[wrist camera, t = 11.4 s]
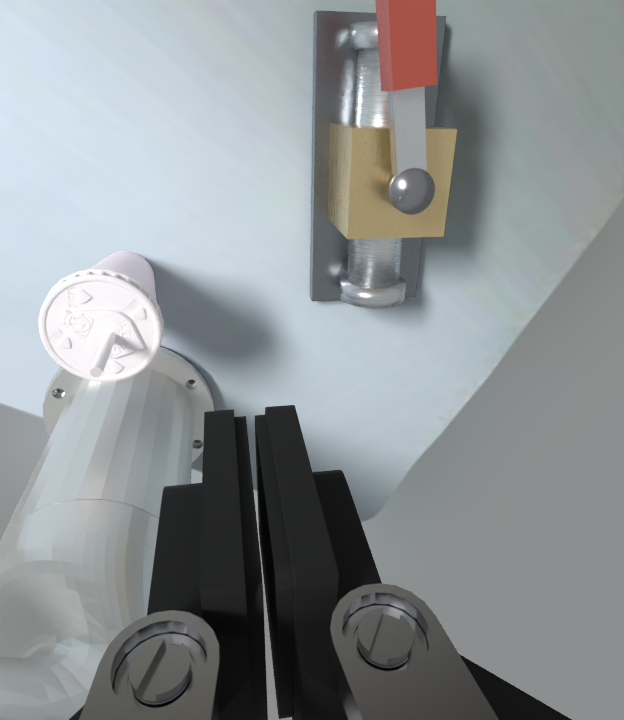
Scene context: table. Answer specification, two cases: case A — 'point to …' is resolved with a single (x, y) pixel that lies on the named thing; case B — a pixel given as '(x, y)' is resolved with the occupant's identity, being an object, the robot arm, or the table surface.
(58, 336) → the smoothie
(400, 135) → the valve lever
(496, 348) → the table surface
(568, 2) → the table surface
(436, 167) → the valve
